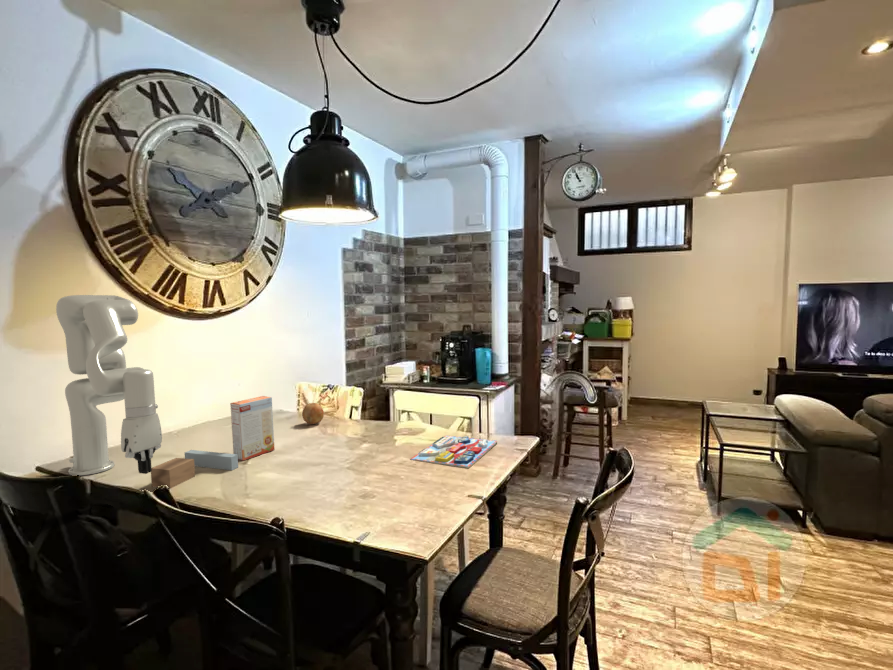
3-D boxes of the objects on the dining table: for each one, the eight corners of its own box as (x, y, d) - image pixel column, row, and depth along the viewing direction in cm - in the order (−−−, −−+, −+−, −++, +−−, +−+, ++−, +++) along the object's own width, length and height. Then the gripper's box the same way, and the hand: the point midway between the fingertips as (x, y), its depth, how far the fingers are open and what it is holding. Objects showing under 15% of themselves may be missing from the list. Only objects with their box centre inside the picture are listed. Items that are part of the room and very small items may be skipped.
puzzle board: (445, 438, 195) (445, 431, 194) (497, 444, 185) (497, 438, 185) (409, 461, 167) (409, 454, 167) (469, 470, 157) (469, 462, 157)
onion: (326, 421, 223) (325, 400, 222) (321, 426, 213) (321, 404, 213) (305, 421, 223) (304, 400, 222) (300, 427, 213) (299, 405, 212)
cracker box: (265, 448, 183) (262, 395, 181) (275, 450, 180) (273, 396, 178) (232, 458, 171) (229, 402, 169) (242, 461, 168) (239, 403, 166)
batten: (185, 464, 165) (184, 452, 164) (192, 462, 167) (191, 449, 167) (231, 470, 159) (231, 457, 158) (238, 467, 162) (237, 454, 161)
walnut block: (151, 487, 146) (150, 468, 145) (177, 475, 155) (176, 457, 155) (170, 488, 144) (169, 469, 143) (195, 477, 154) (194, 459, 153)
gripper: (153, 405, 146) (157, 463, 147) (106, 417, 132) (111, 480, 133) (172, 406, 144) (176, 465, 145) (126, 418, 130) (131, 482, 131)
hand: (145, 472), depth 139 cm, fingers closed
